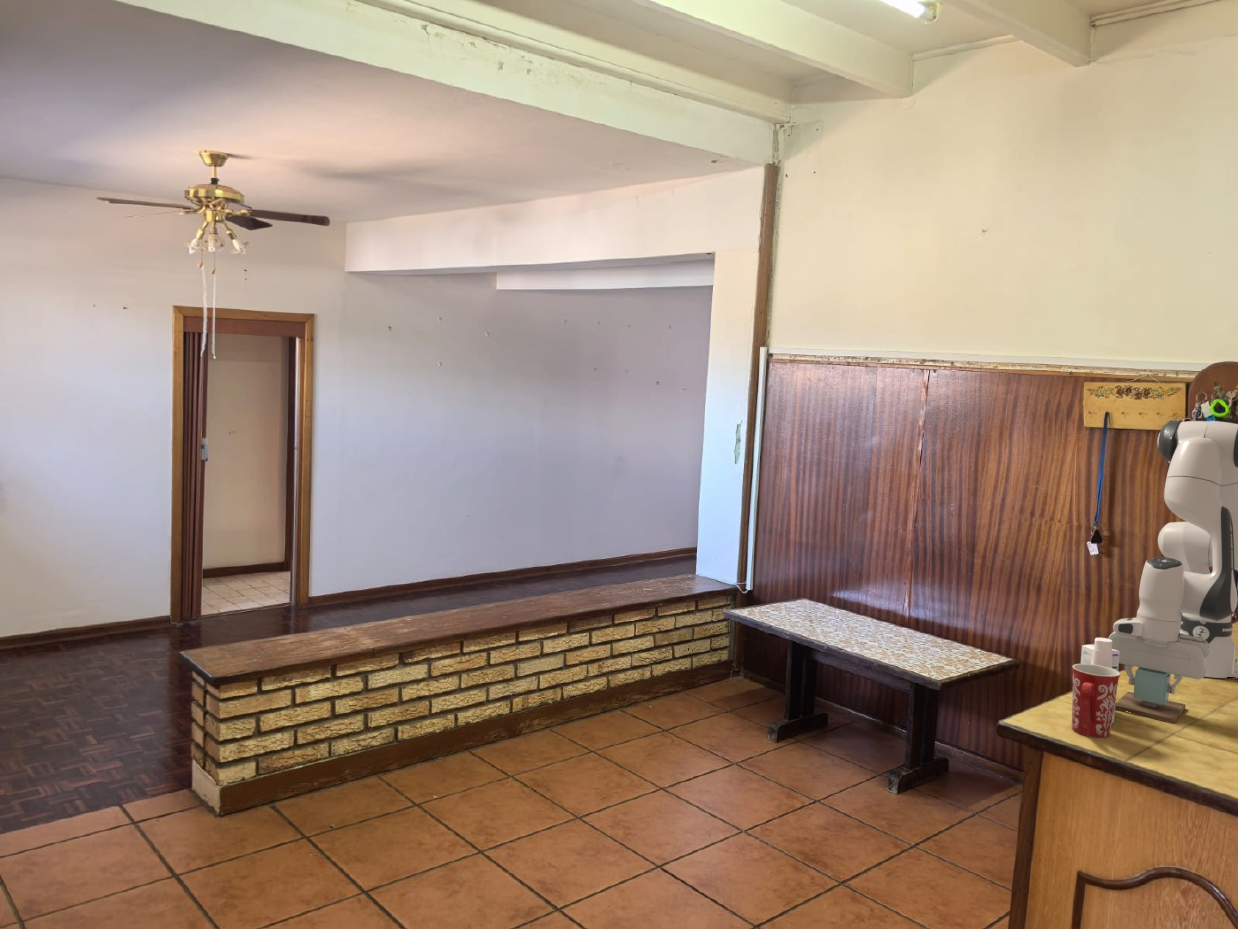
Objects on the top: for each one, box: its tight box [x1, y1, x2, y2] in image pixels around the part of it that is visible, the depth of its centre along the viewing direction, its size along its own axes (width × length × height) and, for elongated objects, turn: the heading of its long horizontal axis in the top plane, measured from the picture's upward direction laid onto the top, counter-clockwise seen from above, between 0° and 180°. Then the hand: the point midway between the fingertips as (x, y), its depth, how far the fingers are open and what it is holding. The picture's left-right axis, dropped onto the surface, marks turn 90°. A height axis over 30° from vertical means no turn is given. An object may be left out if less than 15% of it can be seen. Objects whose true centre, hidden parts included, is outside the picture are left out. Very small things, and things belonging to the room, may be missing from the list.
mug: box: [1071, 663, 1121, 739], centre depth 200 cm, size 13×9×14 cm
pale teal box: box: [1132, 667, 1172, 705], centre depth 219 cm, size 6×6×7 cm
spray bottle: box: [1091, 637, 1118, 725], centre depth 209 cm, size 7×7×18 cm
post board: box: [1115, 691, 1186, 724], centre depth 219 cm, size 14×12×7 cm
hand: (1151, 688), depth 219 cm, fingers closed on pale teal box, 6 cm apart
